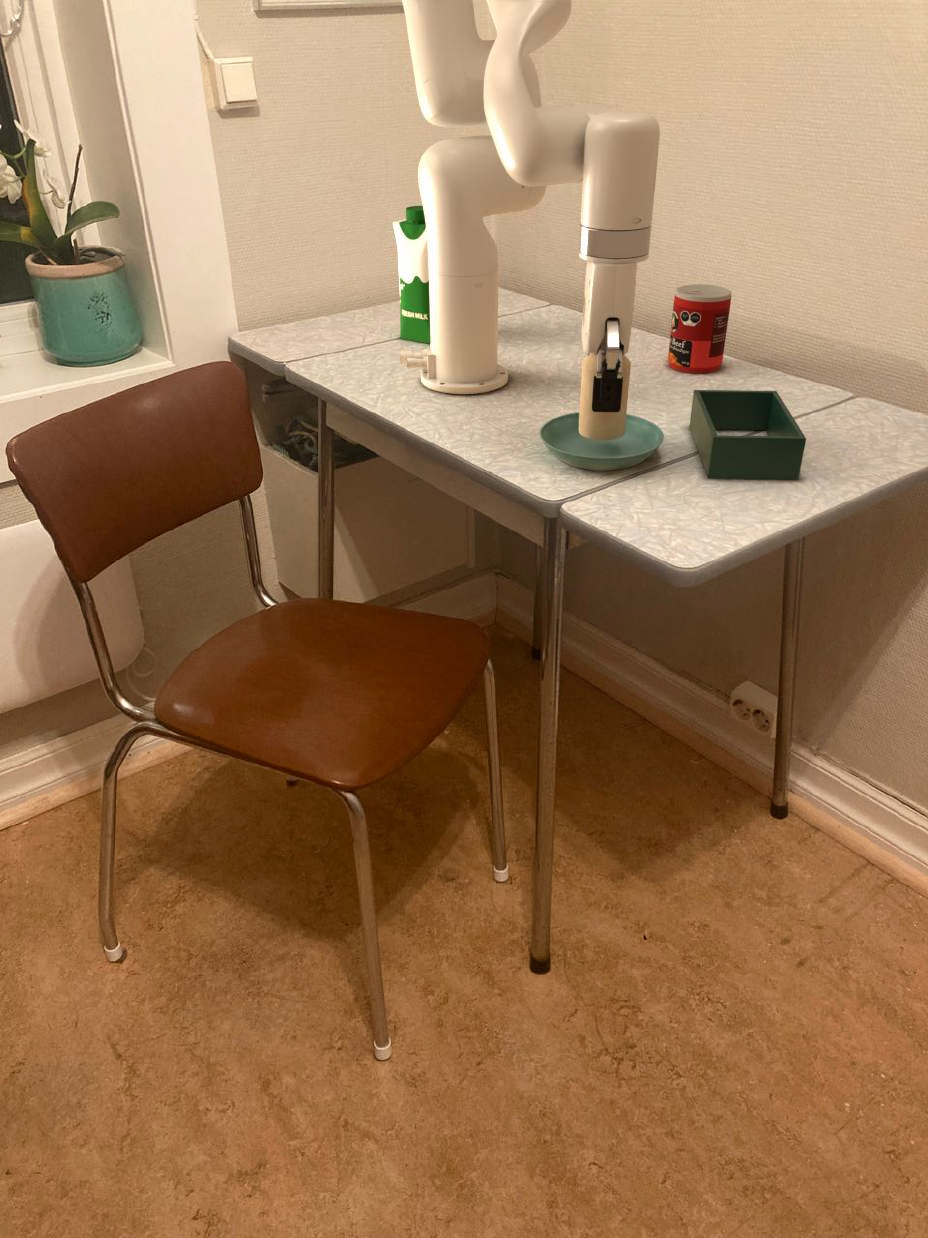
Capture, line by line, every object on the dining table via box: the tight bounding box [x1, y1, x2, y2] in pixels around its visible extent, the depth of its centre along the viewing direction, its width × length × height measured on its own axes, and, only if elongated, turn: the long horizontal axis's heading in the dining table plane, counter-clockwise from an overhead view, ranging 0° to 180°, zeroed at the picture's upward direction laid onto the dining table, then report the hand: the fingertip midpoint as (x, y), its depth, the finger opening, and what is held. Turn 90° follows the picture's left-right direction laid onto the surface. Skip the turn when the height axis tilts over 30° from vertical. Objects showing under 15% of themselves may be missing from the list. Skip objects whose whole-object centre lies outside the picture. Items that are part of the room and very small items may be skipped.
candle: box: [578, 347, 632, 440], centre depth 112 cm, size 6×6×10 cm
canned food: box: [667, 283, 732, 374], centre depth 141 cm, size 8×8×11 cm
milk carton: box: [392, 205, 431, 345], centre depth 153 cm, size 9×9×20 cm
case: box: [688, 389, 807, 481], centre depth 115 cm, size 10×16×5 cm, turn 176°
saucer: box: [538, 411, 665, 472], centre depth 115 cm, size 15×15×3 cm
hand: (603, 396), depth 112 cm, fingers open, 9 cm apart
